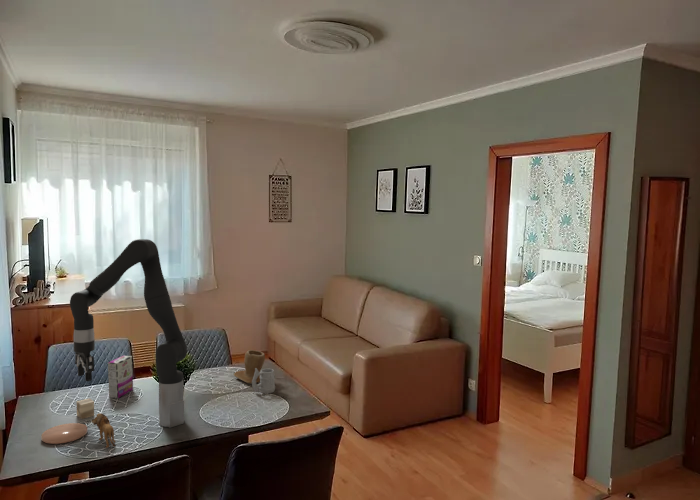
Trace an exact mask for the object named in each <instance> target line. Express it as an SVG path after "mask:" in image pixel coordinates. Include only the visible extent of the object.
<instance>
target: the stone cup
mask: <svg viewBox="0 0 700 500" xmlns="http://www.w3.org/2000/svg"><path fill="white" fill-rule="evenodd" d="M265 355H266V354H265V353H264V352H262V351H260V350H255V349H249V350H247V351H246V352H245V353H244V361H243V362H244V369H243V370H238V371H235V372H234V373H233V376H234V377H236V378H237V379H239V380H240V381H242V382H243V383H244V382H245V383H247V384H250V385H252V380H253V377H254V373H255V368H257V370H258V371H259V373H260V372H261V370H262V369H263V365H264V362H265V359H266V356H265ZM257 383H258V384H259V383H260V375H259V376H258V377H257V379H256V384H257Z"/></svg>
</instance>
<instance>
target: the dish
mask: <svg viewBox="0 0 700 500" xmlns="http://www.w3.org/2000/svg"><path fill="white" fill-rule="evenodd" d="M87 433H88V426H87V425H86V424H84V423H78V422H71V423H63V424H58V425H55V426H53V427H50V428H48V429H46V430H45V431H44V432H42V433H41V438H40V439H41V441H42V442H44V443H46V444H51V445H57V444H64V443H65V444H66V443H70V442H73V441H76V440H79V439H81V438H83V437H84V436H85V435H87Z"/></svg>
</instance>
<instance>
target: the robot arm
mask: <svg viewBox="0 0 700 500" xmlns="http://www.w3.org/2000/svg"><path fill="white" fill-rule="evenodd" d="M160 259H161V258H160V254H159V249H158V247H157V245H156V243H155V242H154V241H153V240H151V239H147V238H145V239H144V238H138V239H134V240H132V241H131V242H129V244H127V245H126V247H125V248H124V250H123V251H121V253H120V254H119V255H118V257H116V259H115V260H113V262H112V263H111V264H110V265H109V266H107V267H106V268H105V269H104V270H103V271H101V272H100V273H99V274H98V275H97V276H95V277H94V278H93V279H92V280H91V281H90V282H89V285H88V286H87V287H86V288H84V289H82V290H80V291H76V292H74V293H73V294H71V296H70V299H69V307H70V310H71V314H72V317H73V352H74V355H75V356H74V358H75V359H74V363H75V365H76V367H77V376H78V377H82V376H84V378H85V382H91V381H92V379H93V376H92V375H93V373H92V372H95V357H94V355H93V356H92V355H91V352H94V351H95V349H96V348H95V347H96V346H95V343H96V342H95V328H94V327H95V326H94V324H95V322H94V316H93V314H92V313H90V311H89V307H91V306H93V305H95V304H96V303H97V302H98V301H99V300H100V299H101V298H102V296H103V295H104V294H106V293H107V292H108V291H109V290H111V289H112V288H113V287H114V286H115V285H116V284H118V282H119V281H120V279H121V278H122V276H123V275H124V274H125V273H126V272H127V271H128V270H129V269H131V268H132V267H133V266H135V265H137V264H139V263H140V265H141V267H142V270H143V274H144V285H143V297H144V302H145V305H146V308H147V311H148V314H149V316H150V317H151V318H152V319H153V320H154V321H155V322H156V323H157V324H158V325H159V327H160V328H161V329H162V332H163V334H164V338H165V341H164V342H163V343H160V344H159V345H158V346H157V348H156V350H155V370H156V375H157V377H158V414H159V415H158V417H159V418H158V421H159V422H158V424H159V426H161V427H165V428H173V427H176V426H180V425H182V424H185V400H184V373H183V371H181V370H178V369H177V363H180V362H181V361H183V360H184V359H185V358H186V357H187V355H188V347H187V344H186V341H185V339H184V336H183V334H182V331H181V328H180V326H179V324H178V321H177V318H176V315H175V311H174V307H173V304H172V299H171V298H170V297H171V296H170V294H169V291H168V288H167V284H166V281H165V277H164V274H163V271H162V266H161V260H160Z"/></svg>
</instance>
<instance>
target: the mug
mask: <svg viewBox="0 0 700 500" xmlns="http://www.w3.org/2000/svg"><path fill="white" fill-rule="evenodd" d="M259 375H260V382H258V384H257V383H256V379H257V377H258V376H259ZM275 378H276V375H275V370H274V369H273V368H269V367H268V368H261V370H260V373H259V371H258V370H257V368H255V373H254V377H253V380H252V384H251V387H252V389H253V390H254V392H257V391H258V389H259V392H260V393H262V394H272V393H274V392H275V390H276V385H275Z"/></svg>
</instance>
